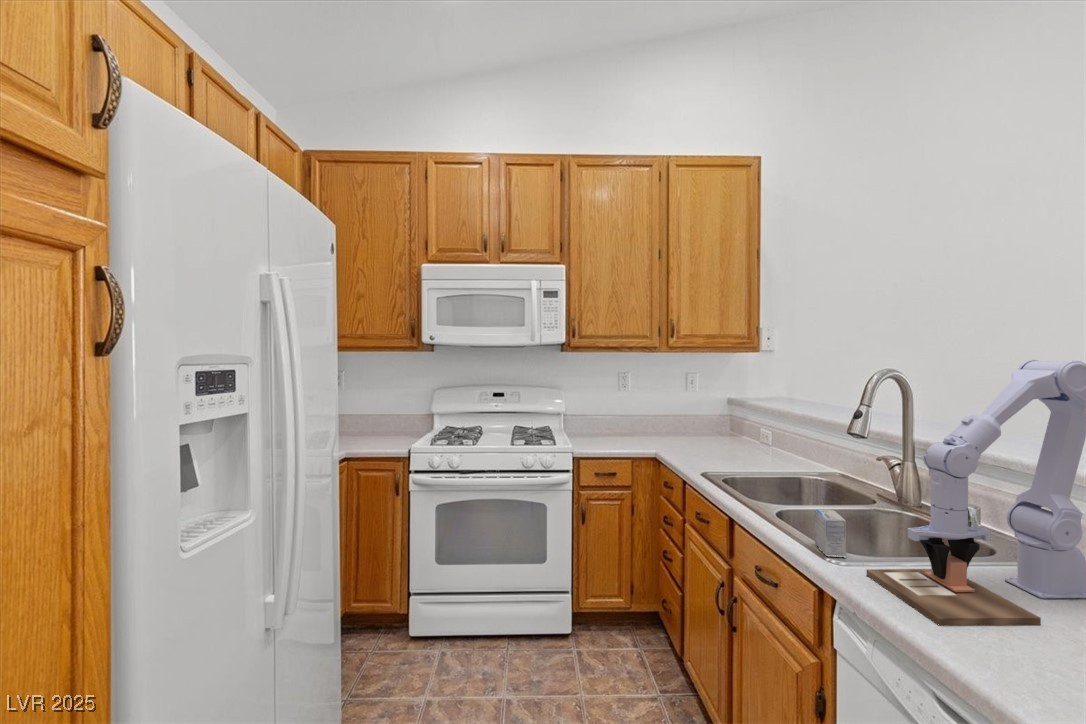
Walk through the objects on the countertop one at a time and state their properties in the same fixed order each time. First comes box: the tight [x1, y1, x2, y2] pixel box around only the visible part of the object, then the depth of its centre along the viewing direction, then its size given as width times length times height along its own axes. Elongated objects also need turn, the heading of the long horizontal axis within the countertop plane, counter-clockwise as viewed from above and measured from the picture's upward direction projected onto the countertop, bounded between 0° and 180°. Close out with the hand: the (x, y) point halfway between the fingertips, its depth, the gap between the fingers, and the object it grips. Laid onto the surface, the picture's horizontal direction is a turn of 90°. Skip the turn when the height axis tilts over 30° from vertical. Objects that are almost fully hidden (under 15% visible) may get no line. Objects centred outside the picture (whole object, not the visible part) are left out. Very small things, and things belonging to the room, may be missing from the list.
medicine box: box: [814, 509, 847, 557], centre depth 122 cm, size 8×4×9 cm, turn 168°
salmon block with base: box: [924, 553, 975, 592], centre depth 102 cm, size 4×8×5 cm, turn 0°
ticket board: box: [866, 568, 1042, 626], centre depth 99 cm, size 17×20×2 cm
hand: (948, 576), depth 102 cm, fingers closed on salmon block with base, 3 cm apart
